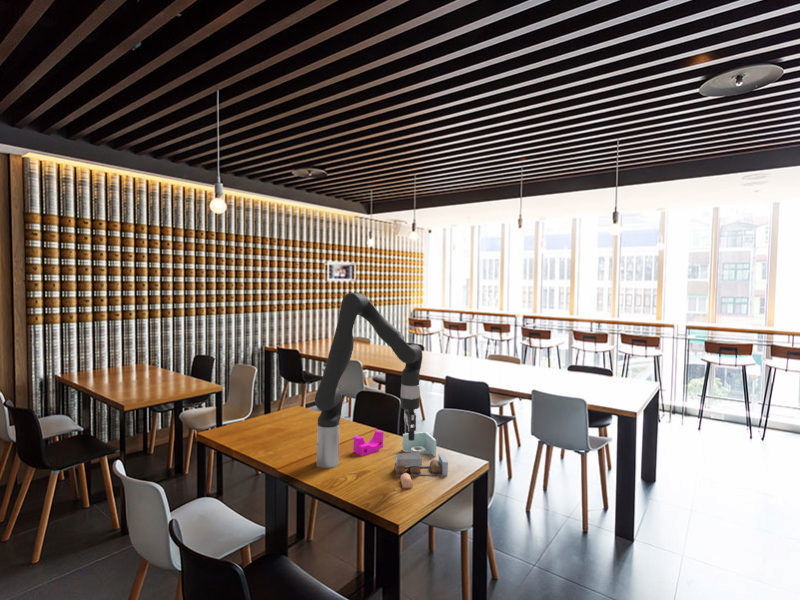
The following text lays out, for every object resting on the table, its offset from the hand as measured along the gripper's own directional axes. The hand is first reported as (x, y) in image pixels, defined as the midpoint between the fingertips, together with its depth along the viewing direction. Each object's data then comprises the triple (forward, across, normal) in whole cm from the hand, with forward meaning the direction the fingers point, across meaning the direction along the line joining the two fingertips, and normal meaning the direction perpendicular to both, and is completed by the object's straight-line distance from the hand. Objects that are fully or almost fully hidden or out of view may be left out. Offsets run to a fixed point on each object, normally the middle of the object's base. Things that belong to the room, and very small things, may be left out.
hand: (409, 436), depth 171 cm
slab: (+14, -8, +1) cm, 16 cm away
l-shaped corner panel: (+19, -29, +10) cm, 36 cm away
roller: (+18, +4, -3) cm, 19 cm away
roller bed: (+18, -8, +5) cm, 20 cm away
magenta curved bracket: (+19, -34, -13) cm, 41 cm away
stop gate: (+18, -8, +16) cm, 25 cm away
